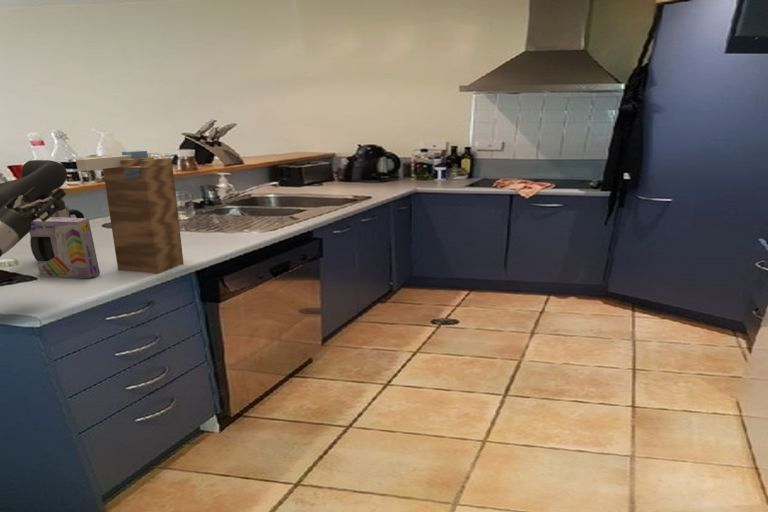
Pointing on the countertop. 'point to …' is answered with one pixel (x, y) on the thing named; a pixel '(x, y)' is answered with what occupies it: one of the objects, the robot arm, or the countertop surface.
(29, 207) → the robot arm
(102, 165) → the cream and blue bar
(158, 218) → the wood grain block
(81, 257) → the cake pan box
